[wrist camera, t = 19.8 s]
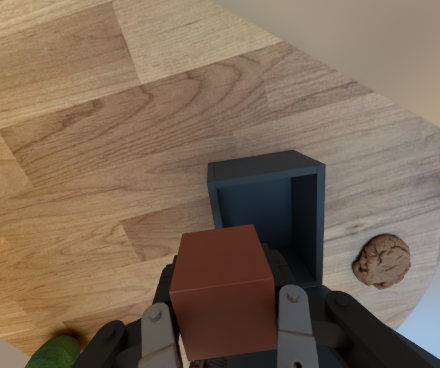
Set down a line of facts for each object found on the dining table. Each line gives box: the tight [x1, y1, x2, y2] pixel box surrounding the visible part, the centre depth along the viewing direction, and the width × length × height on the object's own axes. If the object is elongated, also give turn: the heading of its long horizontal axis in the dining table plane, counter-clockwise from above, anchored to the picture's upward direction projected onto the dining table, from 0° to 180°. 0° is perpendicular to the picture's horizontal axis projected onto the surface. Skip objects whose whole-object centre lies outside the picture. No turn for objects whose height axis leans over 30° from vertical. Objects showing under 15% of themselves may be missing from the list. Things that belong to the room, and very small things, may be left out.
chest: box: [207, 150, 325, 288], centre depth 29 cm, size 17×13×9 cm
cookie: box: [353, 235, 411, 290], centre depth 36 cm, size 10×11×3 cm
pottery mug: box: [189, 356, 228, 368], centre depth 42 cm, size 12×10×8 cm
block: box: [169, 224, 278, 361], centre depth 12 cm, size 5×5×5 cm
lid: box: [228, 285, 440, 368], centre depth 18 cm, size 18×13×5 cm
